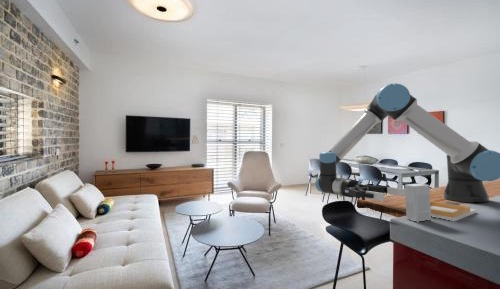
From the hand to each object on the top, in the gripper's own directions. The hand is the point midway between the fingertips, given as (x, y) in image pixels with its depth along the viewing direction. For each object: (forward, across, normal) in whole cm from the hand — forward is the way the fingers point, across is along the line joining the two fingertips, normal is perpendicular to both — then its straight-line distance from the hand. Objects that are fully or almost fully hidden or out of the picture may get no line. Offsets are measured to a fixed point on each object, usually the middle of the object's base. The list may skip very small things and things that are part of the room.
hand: (394, 194), depth 90 cm
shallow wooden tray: (+8, -16, -7) cm, 20 cm away
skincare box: (+8, 0, -8) cm, 11 cm away
